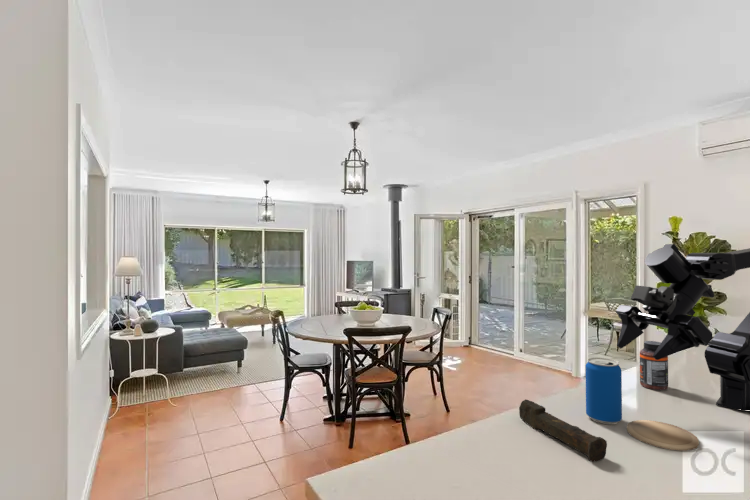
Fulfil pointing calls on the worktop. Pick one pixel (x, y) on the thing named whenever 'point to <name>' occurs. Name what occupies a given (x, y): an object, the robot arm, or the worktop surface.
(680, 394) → the worktop surface
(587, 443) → the hand tool
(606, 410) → the beverage can
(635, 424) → the coaster
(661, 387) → the supplement bottle
